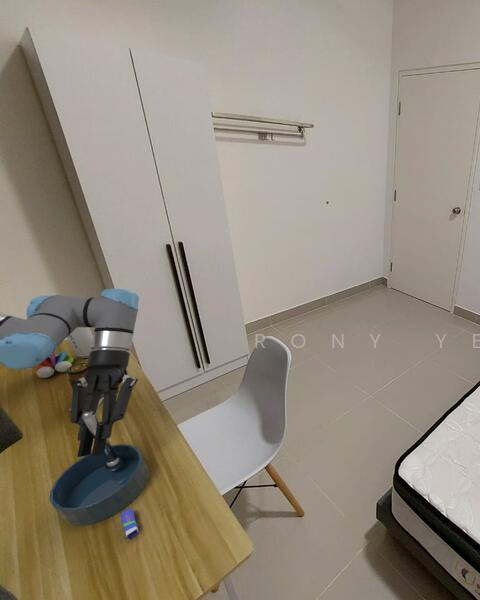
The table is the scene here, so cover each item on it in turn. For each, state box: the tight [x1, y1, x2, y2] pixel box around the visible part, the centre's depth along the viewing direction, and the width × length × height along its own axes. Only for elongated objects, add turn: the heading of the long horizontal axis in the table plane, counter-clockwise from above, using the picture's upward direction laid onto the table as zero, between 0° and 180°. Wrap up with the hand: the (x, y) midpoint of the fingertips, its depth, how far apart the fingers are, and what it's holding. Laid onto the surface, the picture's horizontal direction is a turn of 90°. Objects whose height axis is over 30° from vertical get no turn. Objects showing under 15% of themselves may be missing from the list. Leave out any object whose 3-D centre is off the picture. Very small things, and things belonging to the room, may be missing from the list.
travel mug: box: [66, 327, 93, 360], centre depth 116 cm, size 6×7×20 cm
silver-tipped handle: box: [82, 411, 124, 471], centre depth 77 cm, size 4×4×19 cm
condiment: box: [66, 361, 104, 411], centre depth 99 cm, size 7×8×12 cm
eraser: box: [120, 507, 140, 540], centre depth 71 cm, size 2×6×2 cm, turn 44°
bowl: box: [49, 443, 150, 527], centre depth 76 cm, size 16×16×6 cm
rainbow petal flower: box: [33, 351, 74, 379], centre depth 110 cm, size 8×10×7 cm
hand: (90, 455), depth 73 cm, fingers closed on silver-tipped handle, 2 cm apart
